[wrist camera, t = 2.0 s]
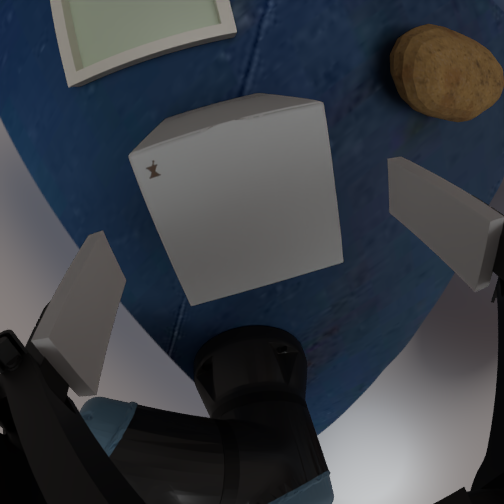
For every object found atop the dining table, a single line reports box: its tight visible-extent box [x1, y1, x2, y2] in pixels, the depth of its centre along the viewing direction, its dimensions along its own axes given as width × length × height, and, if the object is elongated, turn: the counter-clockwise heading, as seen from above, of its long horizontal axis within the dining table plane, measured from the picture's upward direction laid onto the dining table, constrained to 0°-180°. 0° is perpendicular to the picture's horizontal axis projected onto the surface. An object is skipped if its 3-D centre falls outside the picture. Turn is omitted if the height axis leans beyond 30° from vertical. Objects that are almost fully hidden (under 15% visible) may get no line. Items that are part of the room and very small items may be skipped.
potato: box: [390, 24, 504, 122], centre depth 22 cm, size 10×14×8 cm
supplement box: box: [129, 93, 344, 306], centre depth 21 cm, size 9×9×15 cm
